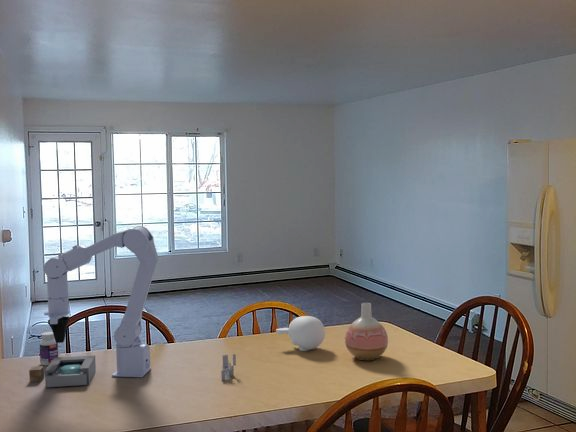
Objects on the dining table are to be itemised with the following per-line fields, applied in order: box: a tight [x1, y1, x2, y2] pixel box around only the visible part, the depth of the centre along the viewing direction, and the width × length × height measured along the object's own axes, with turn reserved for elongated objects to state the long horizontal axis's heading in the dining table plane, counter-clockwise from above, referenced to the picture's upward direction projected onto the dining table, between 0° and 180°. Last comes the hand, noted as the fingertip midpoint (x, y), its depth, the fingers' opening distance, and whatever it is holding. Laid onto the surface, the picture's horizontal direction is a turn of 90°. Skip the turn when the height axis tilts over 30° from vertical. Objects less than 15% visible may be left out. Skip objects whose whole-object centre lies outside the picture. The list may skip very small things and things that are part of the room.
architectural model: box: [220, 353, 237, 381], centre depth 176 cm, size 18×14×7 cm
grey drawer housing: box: [44, 355, 97, 386], centre depth 179 cm, size 12×12×5 cm
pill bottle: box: [39, 331, 59, 366], centre depth 194 cm, size 5×5×10 cm
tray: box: [45, 364, 88, 388], centre depth 178 cm, size 11×12×3 cm
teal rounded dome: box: [61, 364, 81, 375], centre depth 179 cm, size 6×6×2 cm
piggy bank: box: [275, 315, 326, 352], centre depth 206 cm, size 12×12×15 cm
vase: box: [344, 302, 389, 362], centre depth 195 cm, size 14×14×18 cm
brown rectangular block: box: [28, 365, 45, 383], centre depth 179 cm, size 3×3×4 cm
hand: (60, 342), depth 182 cm, fingers closed
